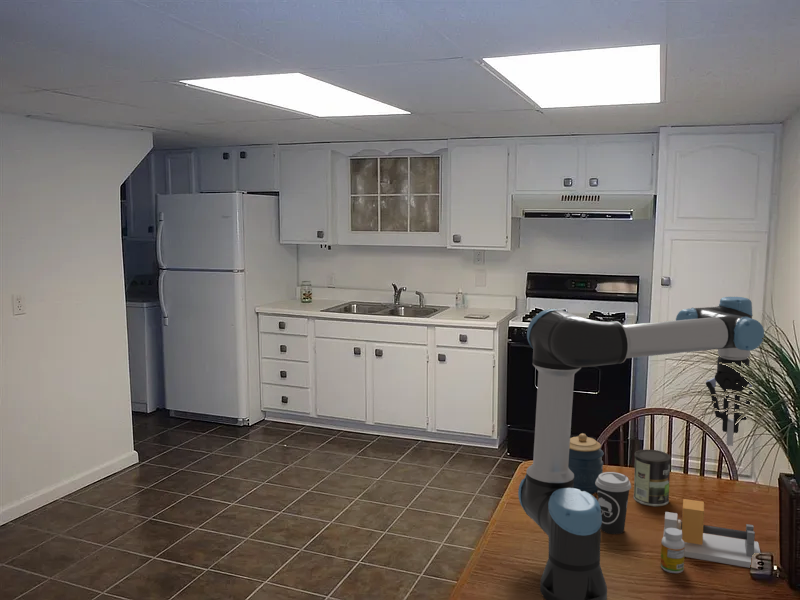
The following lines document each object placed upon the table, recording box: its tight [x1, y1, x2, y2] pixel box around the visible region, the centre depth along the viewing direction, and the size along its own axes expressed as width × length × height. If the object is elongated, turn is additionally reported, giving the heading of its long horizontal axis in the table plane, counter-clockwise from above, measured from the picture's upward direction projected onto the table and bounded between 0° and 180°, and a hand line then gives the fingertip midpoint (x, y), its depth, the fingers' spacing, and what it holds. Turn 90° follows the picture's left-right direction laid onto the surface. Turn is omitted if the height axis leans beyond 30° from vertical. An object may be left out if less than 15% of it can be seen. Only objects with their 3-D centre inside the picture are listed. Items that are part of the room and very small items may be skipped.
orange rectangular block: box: [681, 498, 705, 545], centre depth 180 cm, size 6×5×9 cm
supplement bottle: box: [660, 528, 685, 574], centre depth 170 cm, size 5×5×10 cm
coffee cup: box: [595, 471, 632, 535], centre depth 190 cm, size 10×10×15 cm
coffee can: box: [633, 449, 672, 507], centre depth 209 cm, size 10×10×14 cm
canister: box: [568, 432, 605, 495], centre depth 219 cm, size 13×13×18 cm
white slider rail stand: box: [662, 511, 761, 569], centre depth 178 cm, size 12×23×8 cm, turn 67°
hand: (729, 443), depth 181 cm, fingers closed
